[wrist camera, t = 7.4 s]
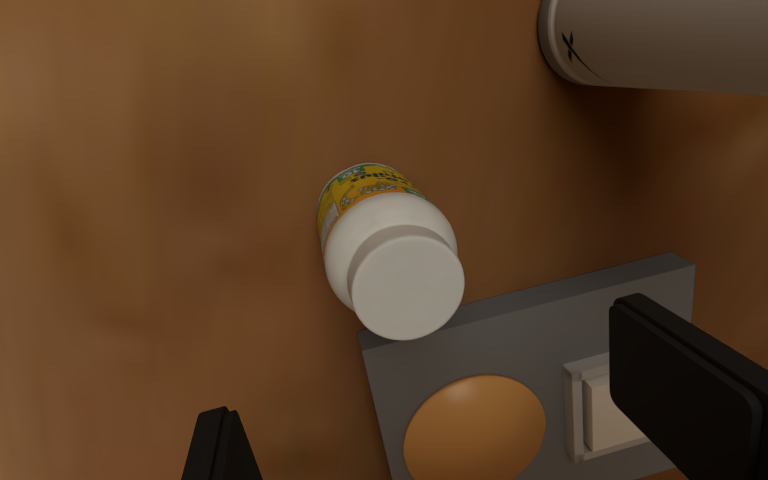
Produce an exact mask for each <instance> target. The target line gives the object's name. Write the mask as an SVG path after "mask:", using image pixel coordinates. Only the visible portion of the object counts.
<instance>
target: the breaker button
mask: <svg viewBox="0 0 768 480" xmlns="http://www.w3.org/2000/svg"><path fill="white" fill-rule="evenodd" d="M582 411H583V440H584V441H585V442H586V444H587V445H588V446H589V447H590V449H591V450H592V451H593V452H595V451H598V450H602V449H605V448H608V447H612V446H615V445H618V444H622V443H625V442H629V441H632V440H635V439H639V438H642V437H645V435H644V434H643V433H642V432H641V431H640V430H639V429H638V428H637V427H636V426H635V425H634V424H633V423H632V422H631V421H630V420H629V419H628V418H627V417H626V416H625V415H624V414H623V413H622V412H621V411H620V410H619V409H618V408H617V406H616V405H615V404H614V402H613V401H612V398H611V396H610V391H609V373H606V374H603V375H599V376H595V377H592V378H588V379H585V380H582Z"/></svg>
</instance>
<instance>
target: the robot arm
mask: <svg viewBox="0 0 768 480" xmlns="http://www.w3.org/2000/svg"><path fill="white" fill-rule="evenodd" d="M609 391H610V396H611V398H612V401H613V402H614V404H615V405H616V406H617V408H618V409H619V410H620V411H621V412H622V413H623V414H624V415H625V416H626V417H627V418H628V419H629V420H630V421H631V422H632V423H633V424H634V425H635V426H636V427H637V428H638V429H639V430H640V431H641V432H642V433H643V434H644V435H645V436H646V437H647V438H648V439H649V440H650V441H651V442H652V443H653V444H654V445H655V446H656V447H657V448H658V449H659V450H660V451H661V452H662V453H663V454H664V455H665V456H666V457H667V458H668V459H669V460H670V461H671V462H672V463H673V464H674V465H675V466H676V467H677V468H678V469H679V470H680V471H681V472H682V473H683V474H684V475H685V476H686V477H687V478H688V479H689V480H768V370H766V369H765V368H763V367H761V366H760V365H758V364H756V363H755V362H753V361H751V360H750V359H748V358H747V357H745V356H743V355H742V354H740V353H738V352H737V351H735V350H733V349H732V348H730V347H729V346H727V345H725V344H724V343H722V342H720V341H719V340H717V339H716V338H714V337H712V336H711V335H709V334H707V333H706V332H704V331H702V330H701V329H699V328H698V327H696V326H694V325H693V324H691V323H689V322H688V321H686V320H684V319H683V318H681V317H680V316H678V315H676V314H675V313H673V312H671V311H670V310H668V309H667V308H665V307H663V306H662V305H660V304H658V303H657V302H655V301H653V300H652V299H650V298H649V297H647V296H645V295H644V294H641V293H634V294H631V295H627V296H623V297H620V298H617V299H615V301H614V303H613V306H611V307H610V308H609ZM181 480H263V479H262V476H261V474H260V471H259V468H258V466H257V463H256V460H255V458H254V455H253V452H252V449H251V447H250V444H249V441H248V439H247V436H246V433H245V431H244V428H243V425H242V423H241V420H240V417H239V415H238V412H237V411H236V410H233V411H230V412H229V410H228V408H227V407H225V406H223V407H220V408H216V409H212V410H209V411H205V412H202V413H200V414H199V415H198V418H197V422H196V426H195V429H194V433H193V437H192V441H191V445H190V448H189V452H188V456H187V460H186V463H185V467H184V471H183V475H182V478H181Z"/></svg>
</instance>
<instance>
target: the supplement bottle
mask: <svg viewBox="0 0 768 480" xmlns="http://www.w3.org/2000/svg"><path fill="white" fill-rule="evenodd" d="M317 225H318V232H319V237H320V242H321V248H322V254H323V260H324V266H325V271H326V275H327V278H328V281H329V284H330V286H331V288H332V289H333V291H334V293H335V294H336V296H337V297H338V298H339V299H340V300H341V302H342V303H344V304H345V305H346V306H347V307H348V308H350V309H351V310H353V311H354V312H355V313H356V315H357V316H358V318H359V319H360V321H361V322H362V323H363V324H364V325H365V326H366V327H367V328H368V329H369V330H371V331H372V332H374V333H375V334H377V335H379V336H382V337H384V338H388V339H392V340H412V339H417V338H421V337H423V336H426V335H429V334H430V333H432V332H434V331H436V330H437V329H439V328H440V327H442V326H443V325H444V324H445V323H446V322H447V321H448V320H449V319H450V318H451V317H452V315H453V314H454V313H455V311H456V310H457V308H458V306H459V304H460V302H461V299H462V296H463V292H464V286H465V285H464V273H463V269H462V265H461V263H460V261H459V259H458V257H457V244H456V239H455V235H454V232H453V230H452V227H451V225H450V224H449V222H448V220H447V219H446V217H445V216H444V215H443V214H442V212H441V211H440V210H439V209H438V208H437V207H436V206H435V205H434V204H433V203H431V202H430V201H429V200H428V199H427V198H426V197H425V196H424V195H423V194H422V193H421V192H420V191H419V190H418V189H417V188H416V187H415V186H414V185H413V184H412V183H411V182H410V181H409V180H407V179H406V178H405V177H404V176H403V175H402V174H401V173H399V172H398V171H397V170H395V169H393V168H391V167H388V166H385V165H382V164H377V163H363V164H358V165H355V166H352V167H350V168H348V169H345V170H343V171H341V172H340V173H338V174H337V175H335V176H334V177H333V178H332V179H331V180H330V181H329V182H328V183H327V184H326V186H325V187H324V189H323V191H322V193H321V195H320V198H319V201H318V205H317Z"/></svg>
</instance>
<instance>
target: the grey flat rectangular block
mask: <svg viewBox="0 0 768 480" xmlns="http://www.w3.org/2000/svg"><path fill="white" fill-rule="evenodd" d="M695 268H696V264H694V263H691V262H689V261H687V260H685V259H683V258H681V257H679V256H677V255H675V254H673V253H671V252H669V253H665V254H661V255H657V256H653V257H649V258H645V259H641V260H637V261H633V262H629V263H626V264H622V265H618V266H614V267H610V268H606V269H602V270H598V271H594V272H590V273H586V274H582V275H578V276H574V277H571V278H567V279H563V280H559V281H555V282H551V283H547V284H543V285H539V286H535V287H531V288H527V289H523V290H519V291H516V292H512V293H508V294H504V295H500V296H496V297H492V298H488V299H484V300H480V301H476V302H472V303H468V304H464V305H461V306H458V308H457V310H456V311H455V313H454V314H453V315H452V317H451V318H450V319H449V320H448V321H447V322H446V323H445V324H444V325H443V326H442V327H440V328H439V329H437V330H436V331H434V332H432V333H430V334H429V335H426V336H423V337H421V338H417V339H412V340H392V339H388V338H384V337H382V336H379V335H377V334H375V333H374V332H372V331H371V330H369V329H366V330H362V331H358V332H357V333H358V337H359V341H360V346H361V350H362V354H363V358H364V363H365V367H366V371H367V375H368V380H369V384H370V388H371V392H372V396H373V401H374V405H375V409H376V413H377V418H378V422H379V426H380V430H381V434H382V439H383V443H384V447H385V451H386V455H387V460H388V464H389V468H390V472H391V477H392V480H636V479H639V478H642V477H645V476H649V475H652V474H655V473H659V472H662V471H665V470H668V469H672V468H675V467H676V466H675V465H674V464H673V463H672V462H671V461H670V460H669V459H668V458H667V457H666V456H665V455H664V454H663V453H662V452H661V451H660V450H659V449H658V448H657V447H656V446H655V445H654V444H653V443H652V442H651V441H650V440H649V439H648V438H647V437H646V436H645V437H642V438H639V439H635V440H632V441H629V442H625V443H622V444H618V445H615V446H612V447H608V448H605V449H602V450H598V451H595V452H593V451H592V450H591V449H590V447H589V446H588V445H587V444H586V442H585V441H584V440H583V411H582V380H585V379H588V378H592V377H595V376H599V375H603V374H606V373H609V308H610V307H611V306H613V303H614V301H615V299H617V298H620V297H623V296H627V295H631V294H634V293H641V294H644V295H645V296H647V297H649V298H650V299H652V300H653V301H655V302H657V303H658V304H660V305H662V306H663V307H665V308H667V309H668V310H670V311H671V312H673V313H675V314H676V315H678V316H680V317H681V318H683V319H684V320H686V321H688V322H689V323H691V319H692V306H693V294H694V281H695Z"/></svg>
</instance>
